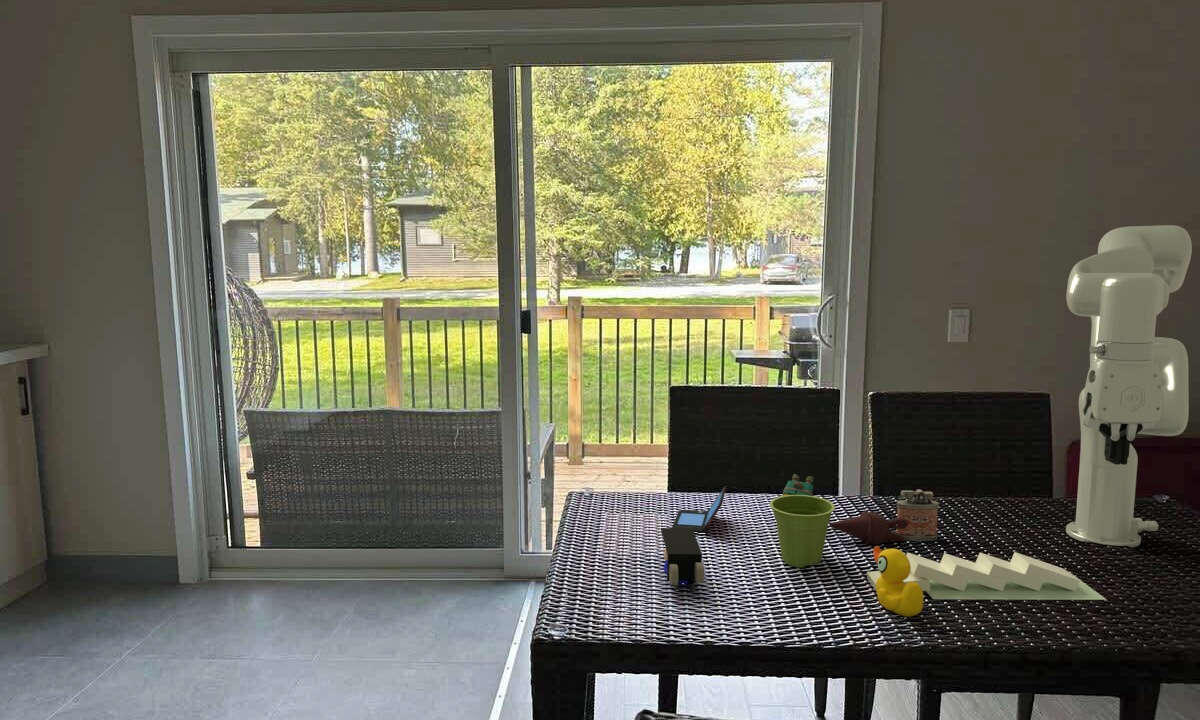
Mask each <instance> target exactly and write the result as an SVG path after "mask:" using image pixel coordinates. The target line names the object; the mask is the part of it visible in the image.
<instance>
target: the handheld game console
mask: <svg viewBox="0 0 1200 720" xmlns="http://www.w3.org/2000/svg"><path fill="white" fill-rule="evenodd" d="M726 490H727V486H723V487H722V489H721V491H720V492H719V494H718V495H717V497H716V499H715V500H714V502H713V503H712V505H711V507H710V508H708V509H707V510H696V509H695V510H693V509H679V510H678V512H677V515H676V516H677V517H676V516H675V519H674V521H673V523H674V524H672V527H671V528H693V531H694V532H698V533H706V532H708V531H707V530H708V528H707V527H709V526H710V525H711V522H712V521H713V520H714V519H715V516H716V515H717V514H718V512H719V511H720V509H721V508H722V504H723V503H724V502H723V501H724V498H725V495H726V494H725V493H726ZM706 534H707V533H706Z"/></svg>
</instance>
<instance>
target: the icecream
mask: <svg viewBox="0 0 1200 720" xmlns="http://www.w3.org/2000/svg"><path fill="white" fill-rule="evenodd" d="M908 525H909V523H908V521H907V520H906V519H904V518H897V517H894V518H892V519H889V520H887V519H886V518H885V517H884V516H883V515H881V514H879V513H876V512H873V511H868V510H864V511H863V512H861V513H860V515H859V516H854V517H851V518H847V519H843V520H838V521H833V522H829V527H831V528H833V529H836V530H837V531H840V532H842V533H844V534H847V535H849V536H852V537H854V538H856V539H858V540H860V542H864V544H865V545H870V544H871V545H880V544H882V543H884V542H885V541H887V542H905V540H904V537H903V536H902V535H900V534H898V533H896V532H892V531H891V530H896V531H897V530H898V529H904V528H906V527H907V526H908ZM890 529H891V530H890Z"/></svg>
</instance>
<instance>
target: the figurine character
mask: <svg viewBox="0 0 1200 720" xmlns="http://www.w3.org/2000/svg"><path fill="white" fill-rule="evenodd" d="M660 533H661V537H662V539H663V544H664V548H665V549H664V550H663V559H664V562H663V563H664V566H663V567H662V570H663V571H664V573H665V574H666V581H668V582H669V585H670V586H674V590H675V589H676V590H678V587H679V585H680V584H679V583H681V584H682V583H684V584H686V585H688V584H689V586H690V589H692V590H693V591H695V590H697V588H696V585H695V583H696V584H704V583H705V566H704V563H703V562H702V561H703V559H702V557H703V553H702V550H701V548H700V546H699V542H698V540H697V537H696V534H694V531H693V528H672V527H661V528H660ZM692 590H691V591H692ZM695 592H696V591H695Z"/></svg>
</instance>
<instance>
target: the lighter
mask: <svg viewBox="0 0 1200 720" xmlns="http://www.w3.org/2000/svg"><path fill="white" fill-rule="evenodd" d="M900 497H901V498H902V499H903V500H900V499H899V500H897V501H896V506H897V517H896V518H904V519H906V520H907V521H908V523H909V525H908V526H907V527H906V528H904V529H898V530H896V531H895V533H898V534H900V535H902V536H903V537H904V541H914V542H915V541H918V542H923V541H924V542H925V541H927V542H928V541H929V542H930V541H937V540H938V534H937V532H938V531H937V529H938V527H937V526H938V510H939V509H938V508H939V507H940V506H939V505H940V503H939V502H938V501H935V500H933V499H934V493H933V492H932V491H923V490H922V489H920V488H919V489H916V490H915V491H914V490H901V491H900Z"/></svg>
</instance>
